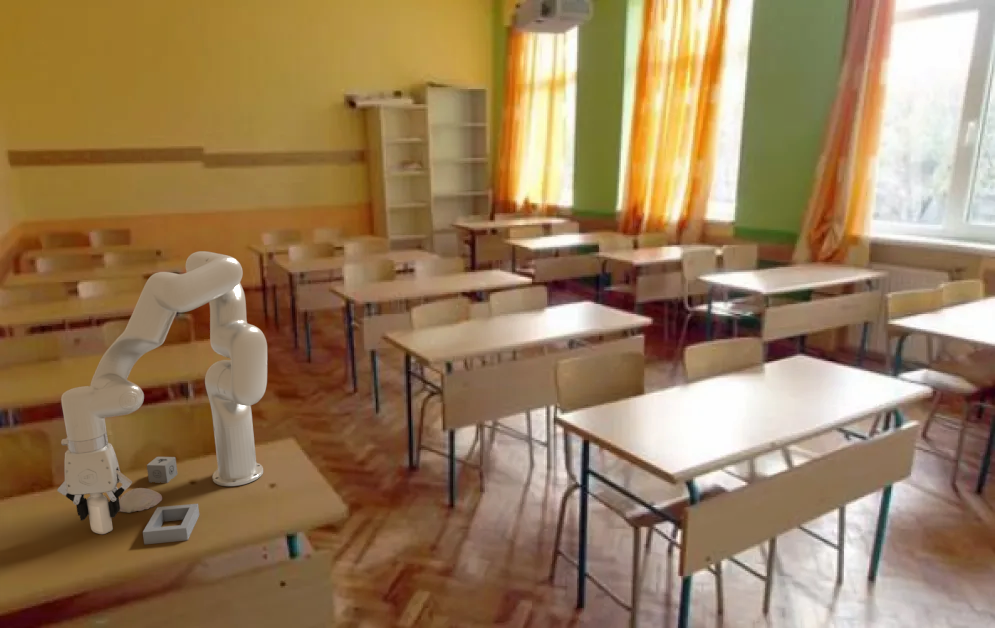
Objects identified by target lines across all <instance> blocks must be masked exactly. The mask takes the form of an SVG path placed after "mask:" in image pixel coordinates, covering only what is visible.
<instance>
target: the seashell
mask: <svg viewBox="0 0 995 628" xmlns="http://www.w3.org/2000/svg"><path fill="white" fill-rule="evenodd" d="M162 500H163V496H162V494H160V493H159V492H158V491H156V490H152V489H150V488H144V487H139V488H138V487H136V488H133V489H131V490H129V491H127V492H125V493H124V494H123V495H121V496H120V497H119V504H120V511H119V512H121V513H128V514H130V513H133V512H137V511H138V512H141V511H144V510H148V509H150V508H154V507H155V506H157V505H158V504H160V503H161V502H162Z"/></svg>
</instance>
